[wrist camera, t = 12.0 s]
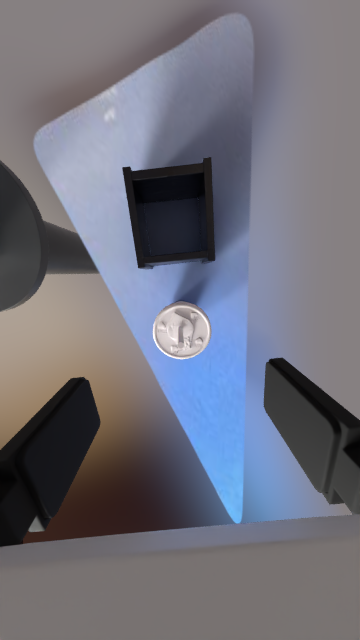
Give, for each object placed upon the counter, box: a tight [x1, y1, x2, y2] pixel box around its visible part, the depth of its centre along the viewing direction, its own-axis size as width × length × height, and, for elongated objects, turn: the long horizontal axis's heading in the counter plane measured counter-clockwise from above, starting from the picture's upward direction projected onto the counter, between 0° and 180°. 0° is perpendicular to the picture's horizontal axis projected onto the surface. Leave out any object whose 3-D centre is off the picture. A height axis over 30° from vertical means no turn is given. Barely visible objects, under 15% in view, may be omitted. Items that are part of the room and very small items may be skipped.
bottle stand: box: [122, 157, 215, 269], centre depth 21 cm, size 9×10×6 cm
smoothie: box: [153, 301, 211, 359], centre depth 20 cm, size 6×6×14 cm
